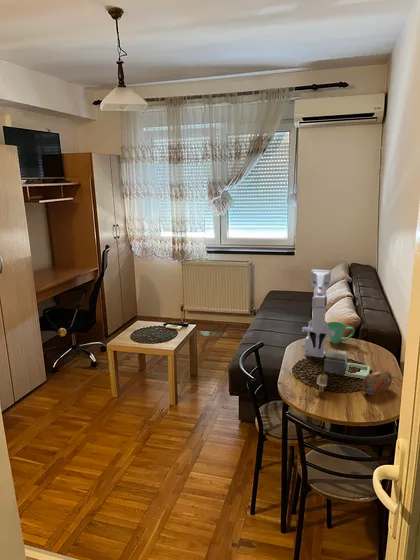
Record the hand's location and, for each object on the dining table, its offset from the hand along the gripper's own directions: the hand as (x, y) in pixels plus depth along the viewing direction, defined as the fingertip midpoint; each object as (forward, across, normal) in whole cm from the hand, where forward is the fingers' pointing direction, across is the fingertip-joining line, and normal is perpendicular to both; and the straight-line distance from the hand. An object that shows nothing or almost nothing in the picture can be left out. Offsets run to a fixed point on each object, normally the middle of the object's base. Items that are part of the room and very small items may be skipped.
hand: (317, 347), depth 193 cm
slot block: (+9, +9, 0) cm, 13 cm away
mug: (+10, +6, +37) cm, 39 cm away
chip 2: (+4, +11, 0) cm, 12 cm away
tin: (+10, +28, -15) cm, 33 cm away
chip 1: (+4, +7, 0) cm, 8 cm away
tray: (+9, +19, 0) cm, 21 cm away
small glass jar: (+10, +6, -23) cm, 26 cm away
